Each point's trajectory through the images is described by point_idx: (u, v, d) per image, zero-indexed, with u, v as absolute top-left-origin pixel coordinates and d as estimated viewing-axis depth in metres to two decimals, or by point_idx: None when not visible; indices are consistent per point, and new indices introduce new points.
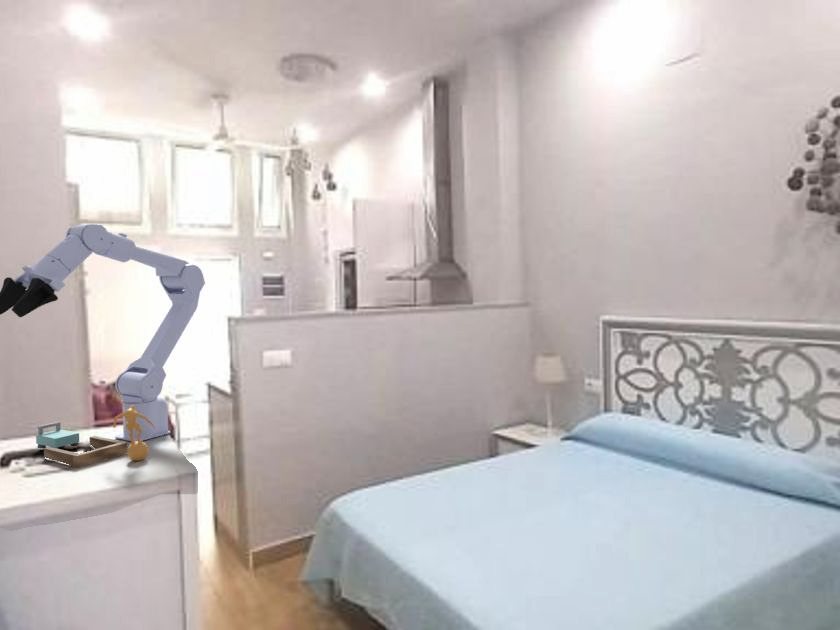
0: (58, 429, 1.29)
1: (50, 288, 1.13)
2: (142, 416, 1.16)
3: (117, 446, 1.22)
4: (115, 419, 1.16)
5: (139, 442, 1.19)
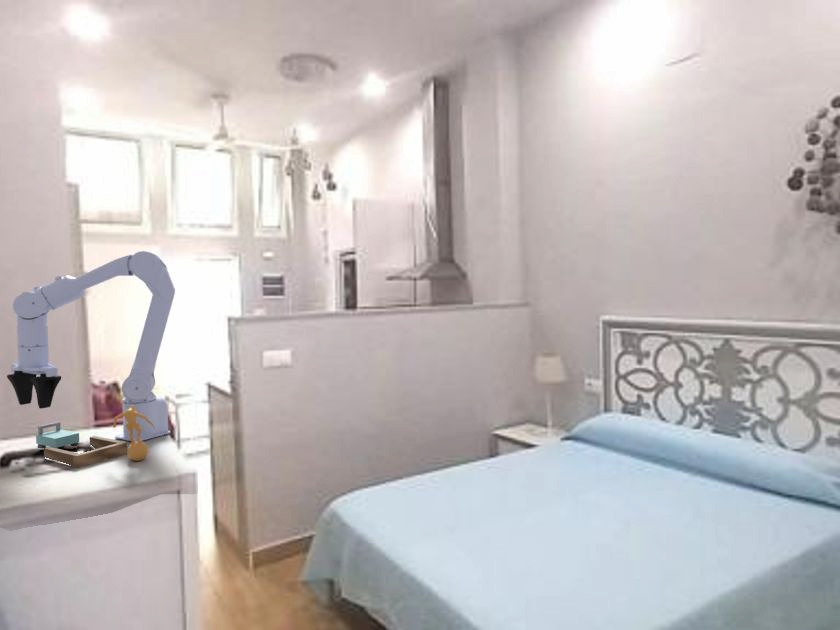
0: (58, 429, 1.29)
1: (50, 377, 1.27)
2: (142, 416, 1.16)
3: (117, 446, 1.22)
4: (115, 419, 1.16)
5: (139, 442, 1.19)
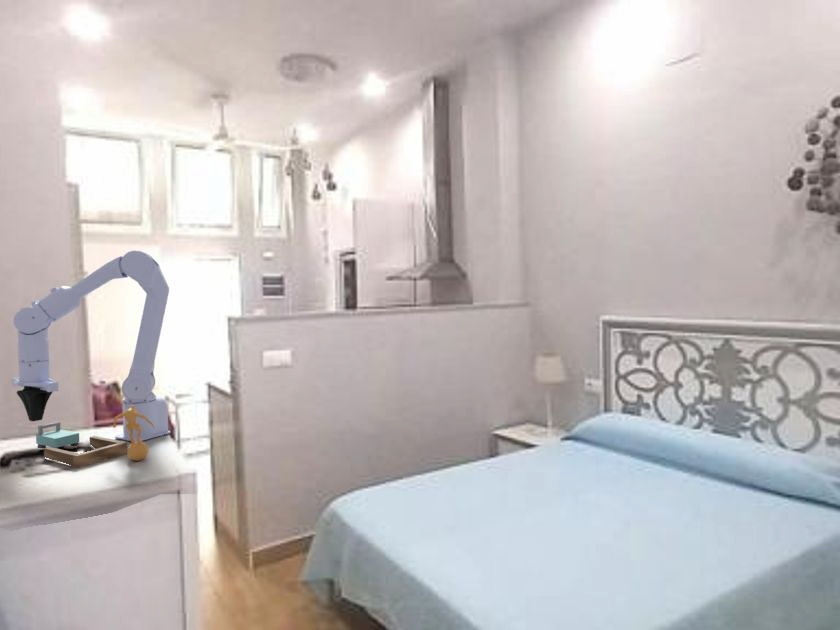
0: (58, 429, 1.29)
1: (41, 390, 1.29)
2: (142, 416, 1.16)
3: (117, 446, 1.22)
4: (115, 419, 1.16)
5: (139, 442, 1.19)
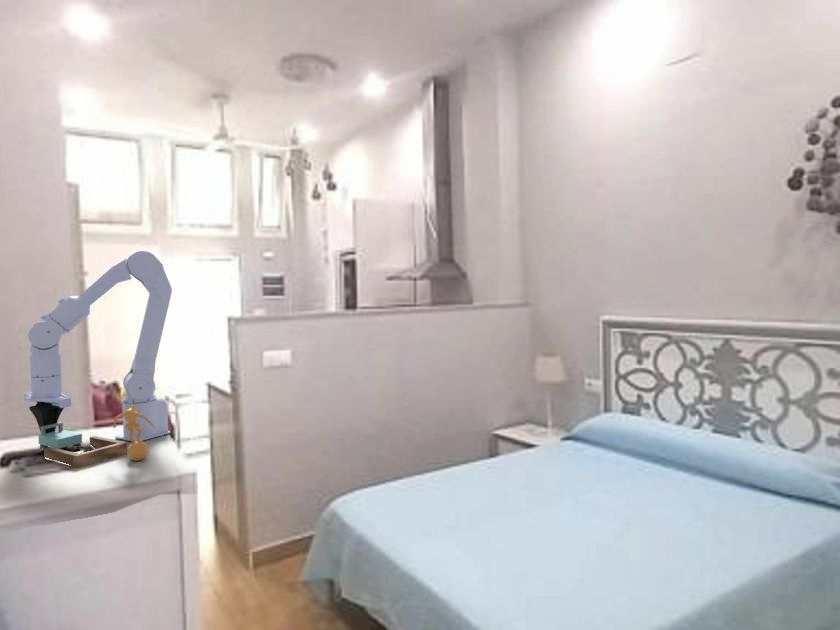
0: (60, 429, 1.29)
1: (53, 406, 1.27)
2: (142, 416, 1.16)
3: (117, 446, 1.22)
4: (115, 419, 1.16)
5: (139, 442, 1.19)
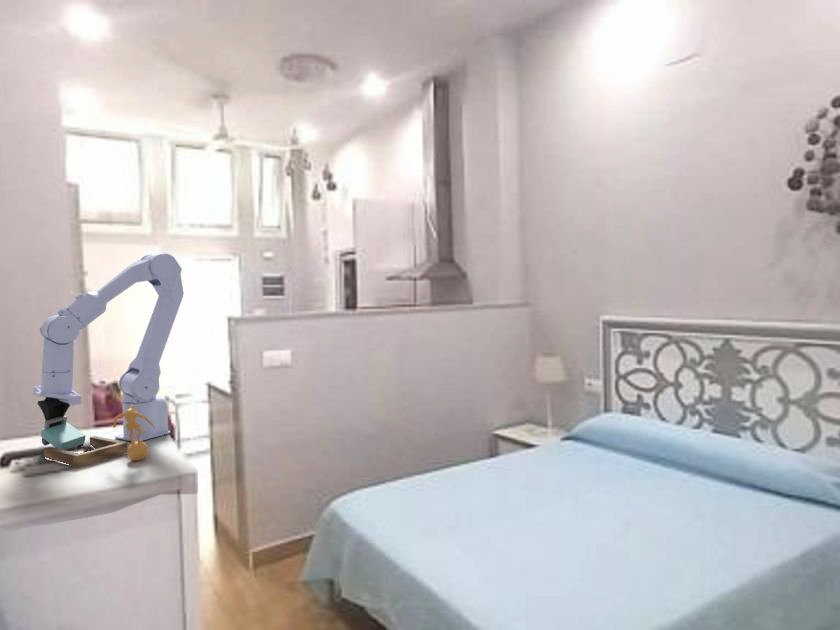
0: (64, 423, 1.27)
1: (60, 401, 1.25)
2: (142, 416, 1.16)
3: (117, 446, 1.22)
4: (115, 419, 1.16)
5: (139, 442, 1.19)
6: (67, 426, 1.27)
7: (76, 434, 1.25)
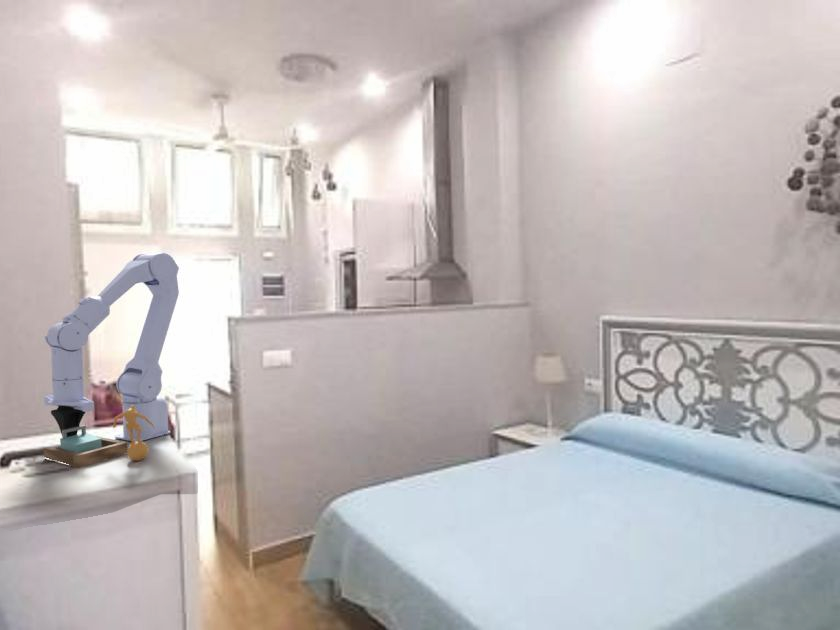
0: (83, 433, 1.25)
1: (75, 409, 1.23)
2: (142, 416, 1.16)
3: (117, 446, 1.22)
4: (115, 419, 1.16)
5: (139, 442, 1.19)
6: (86, 435, 1.24)
7: (92, 438, 1.22)
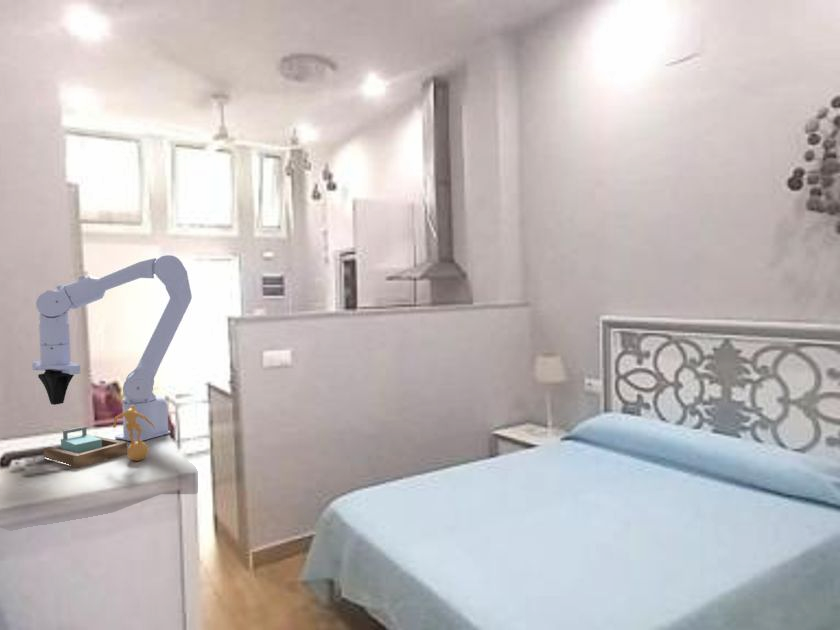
0: (84, 434, 1.25)
1: (63, 373, 1.29)
2: (142, 416, 1.16)
3: (117, 446, 1.22)
4: (115, 419, 1.16)
5: (139, 442, 1.19)
6: (86, 436, 1.24)
7: (92, 439, 1.22)
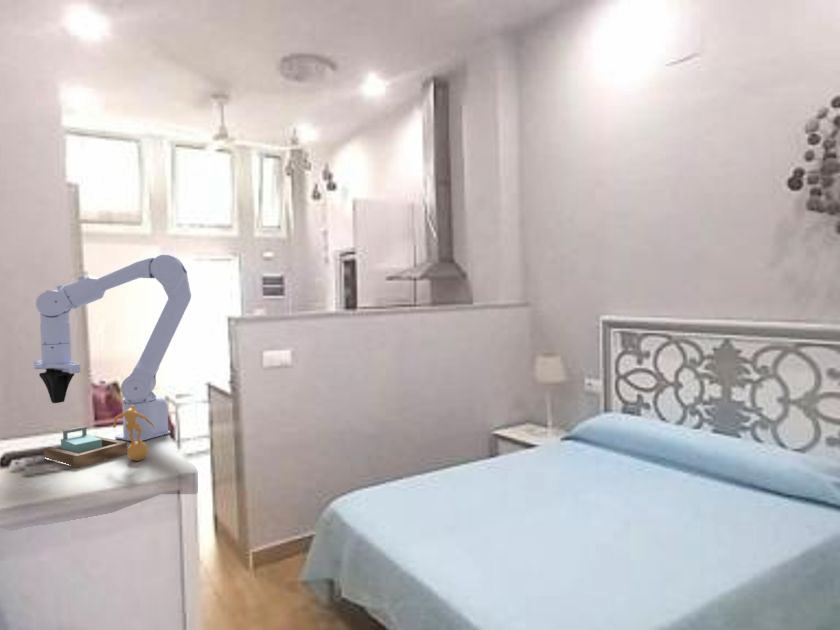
0: (84, 434, 1.25)
1: (63, 372, 1.30)
2: (142, 416, 1.16)
3: (117, 446, 1.22)
4: (115, 419, 1.16)
5: (139, 442, 1.19)
6: (86, 436, 1.24)
7: (92, 439, 1.22)
